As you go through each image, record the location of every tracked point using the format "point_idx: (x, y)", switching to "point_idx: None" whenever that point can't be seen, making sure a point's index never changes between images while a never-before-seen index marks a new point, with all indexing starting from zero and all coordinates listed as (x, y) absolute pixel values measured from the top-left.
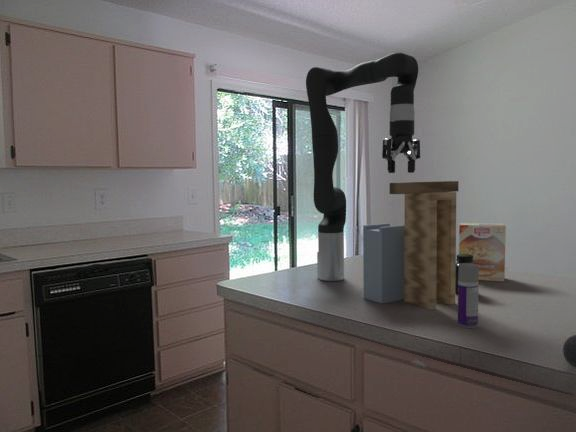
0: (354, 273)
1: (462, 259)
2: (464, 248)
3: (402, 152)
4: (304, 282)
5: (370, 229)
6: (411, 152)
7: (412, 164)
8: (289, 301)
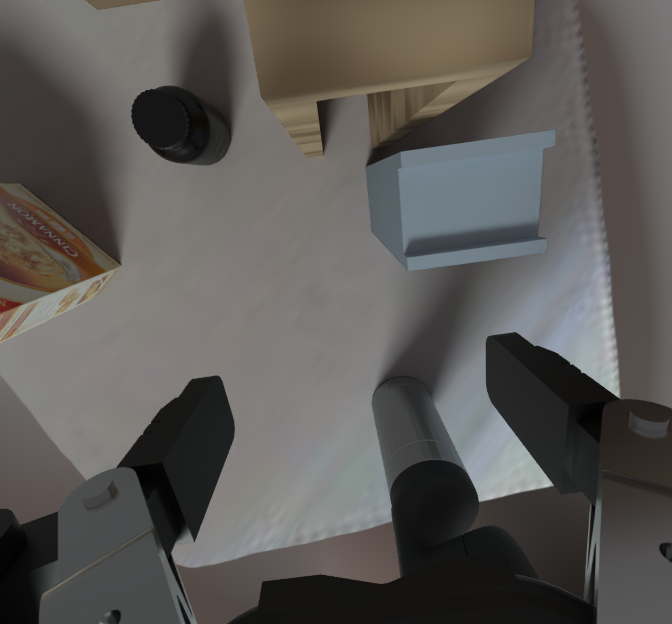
0: (323, 422)
1: (184, 106)
2: (48, 276)
3: (436, 574)
4: (470, 398)
5: (516, 233)
6: (164, 567)
7: (186, 434)
8: (594, 273)
